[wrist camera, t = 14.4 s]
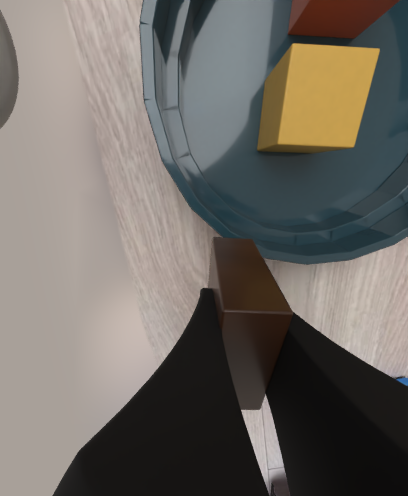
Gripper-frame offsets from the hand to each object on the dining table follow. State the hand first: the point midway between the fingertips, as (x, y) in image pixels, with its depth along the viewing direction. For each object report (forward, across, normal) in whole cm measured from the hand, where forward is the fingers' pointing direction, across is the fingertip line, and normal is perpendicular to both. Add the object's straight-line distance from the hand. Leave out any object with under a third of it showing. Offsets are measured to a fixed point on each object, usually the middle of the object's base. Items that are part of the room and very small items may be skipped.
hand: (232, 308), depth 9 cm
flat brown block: (+2, 0, 0) cm, 2 cm away
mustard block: (+8, -4, -9) cm, 13 cm away
